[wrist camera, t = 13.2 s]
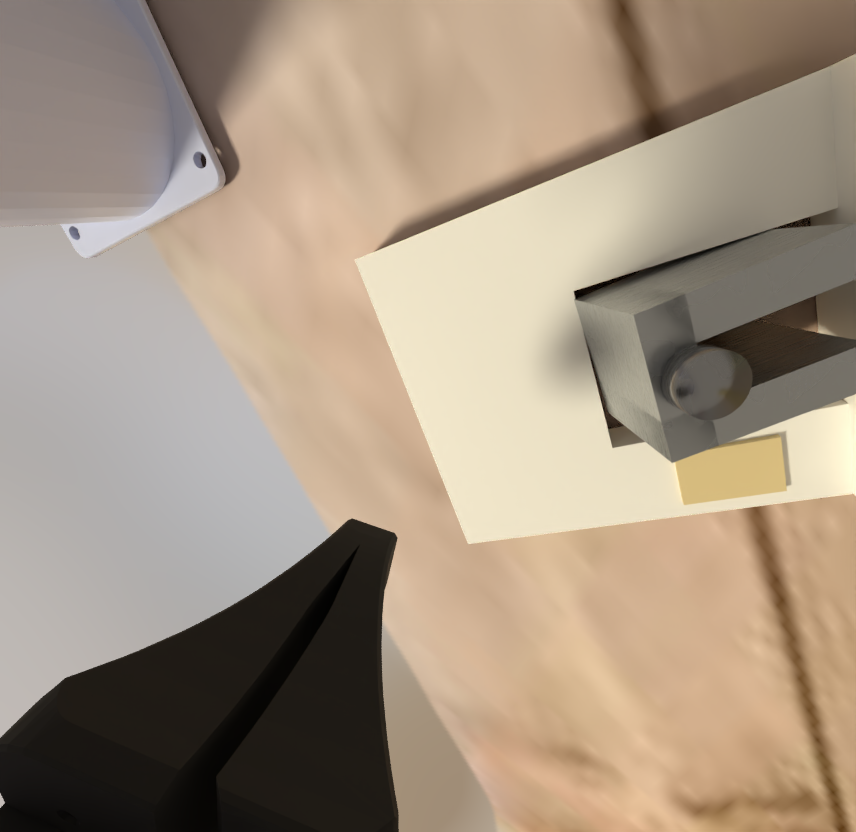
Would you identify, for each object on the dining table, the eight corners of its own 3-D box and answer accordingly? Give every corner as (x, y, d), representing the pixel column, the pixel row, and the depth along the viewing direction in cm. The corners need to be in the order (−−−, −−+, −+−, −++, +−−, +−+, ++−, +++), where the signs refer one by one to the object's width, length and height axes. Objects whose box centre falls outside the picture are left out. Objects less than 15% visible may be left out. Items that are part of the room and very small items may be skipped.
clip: (573, 299, 14) (651, 319, 10) (733, 232, 14) (895, 219, 9) (608, 412, 15) (690, 477, 11) (755, 354, 15) (907, 397, 10)
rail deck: (370, 255, 17) (342, 263, 14) (847, 61, 12) (916, 29, 9) (473, 522, 20) (464, 560, 18) (864, 463, 15) (916, 507, 13)
